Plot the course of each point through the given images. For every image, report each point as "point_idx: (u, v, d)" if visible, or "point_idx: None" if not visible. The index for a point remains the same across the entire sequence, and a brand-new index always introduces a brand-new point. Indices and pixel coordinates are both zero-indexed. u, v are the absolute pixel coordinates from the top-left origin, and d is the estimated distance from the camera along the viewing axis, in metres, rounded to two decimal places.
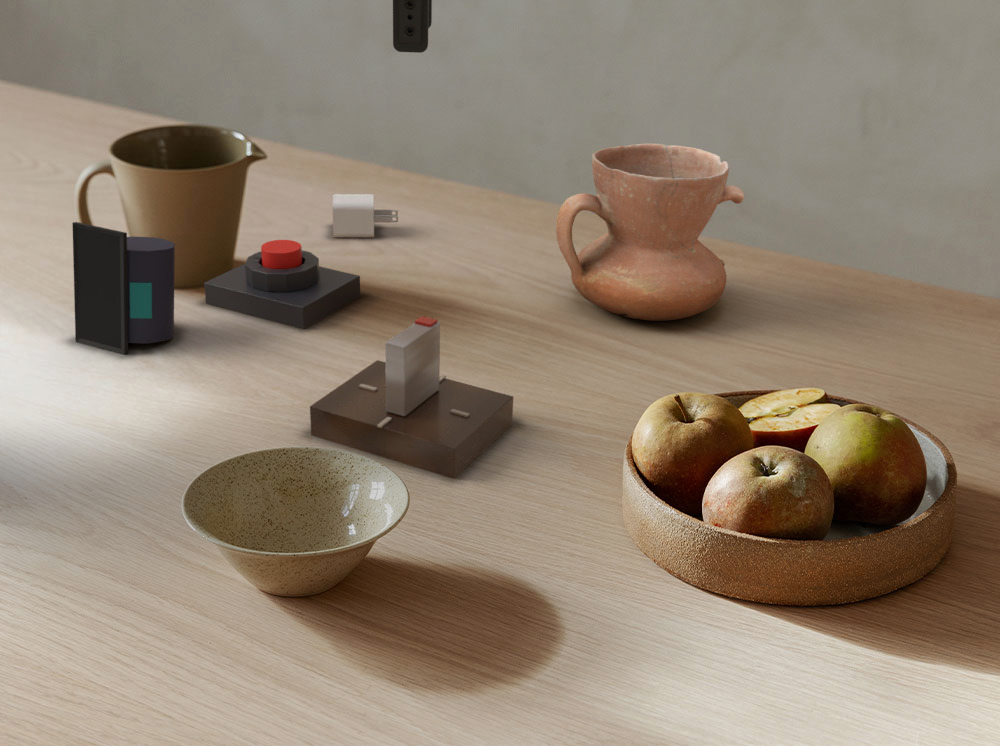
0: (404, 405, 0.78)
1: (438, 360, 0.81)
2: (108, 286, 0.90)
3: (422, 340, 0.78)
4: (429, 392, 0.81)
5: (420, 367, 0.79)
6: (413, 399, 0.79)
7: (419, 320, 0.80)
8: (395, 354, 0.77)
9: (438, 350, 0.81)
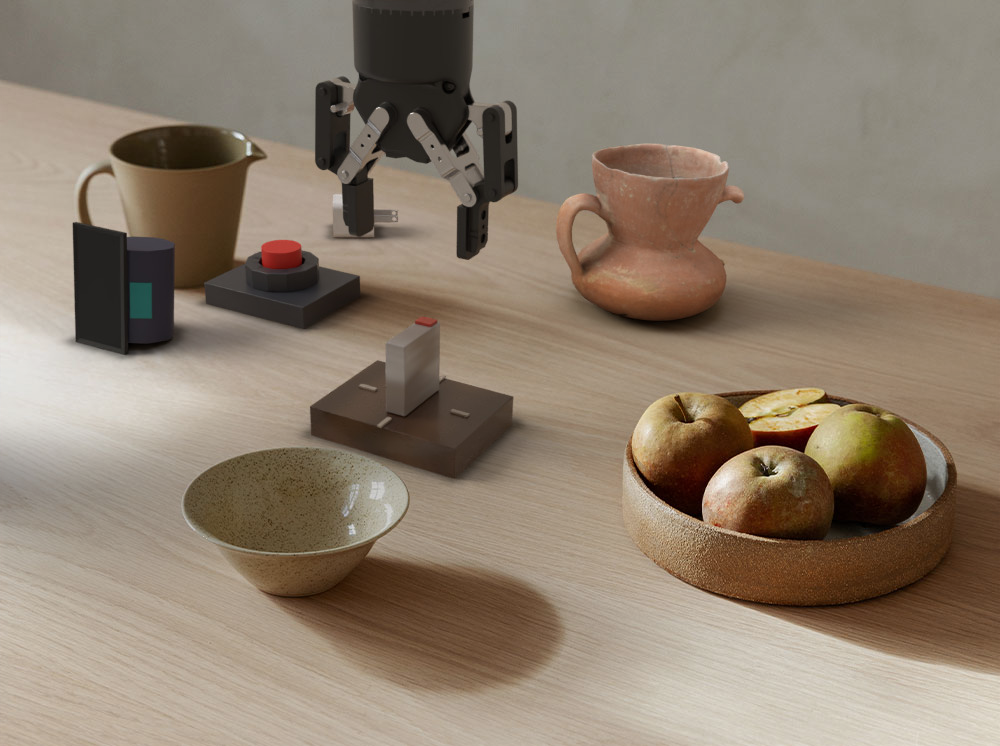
0: (404, 405, 0.78)
1: (438, 360, 0.81)
2: (108, 286, 0.90)
3: (422, 340, 0.78)
4: (429, 392, 0.81)
5: (420, 367, 0.79)
6: (413, 399, 0.79)
7: (419, 320, 0.80)
8: (395, 354, 0.77)
9: (438, 350, 0.81)
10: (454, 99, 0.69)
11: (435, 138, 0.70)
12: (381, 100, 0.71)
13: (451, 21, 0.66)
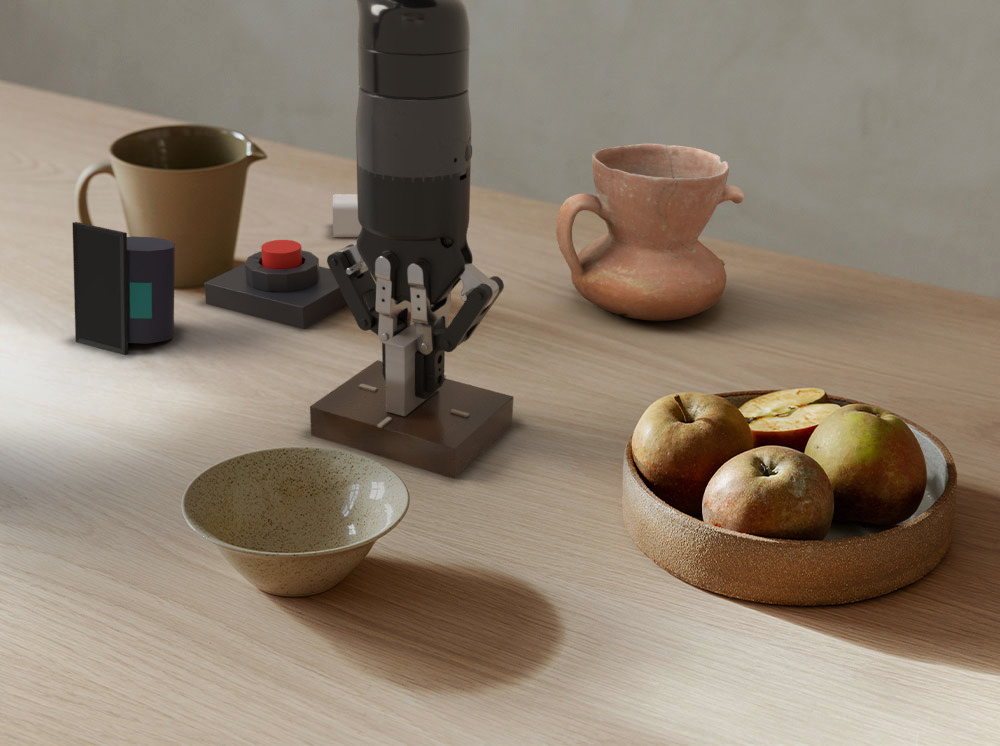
0: (404, 405, 0.78)
1: None
2: (108, 286, 0.90)
3: None
4: None
5: None
6: (413, 399, 0.79)
7: None
8: (395, 354, 0.77)
9: None
10: (452, 252, 0.73)
11: (424, 293, 0.74)
12: (383, 248, 0.75)
13: (449, 184, 0.71)
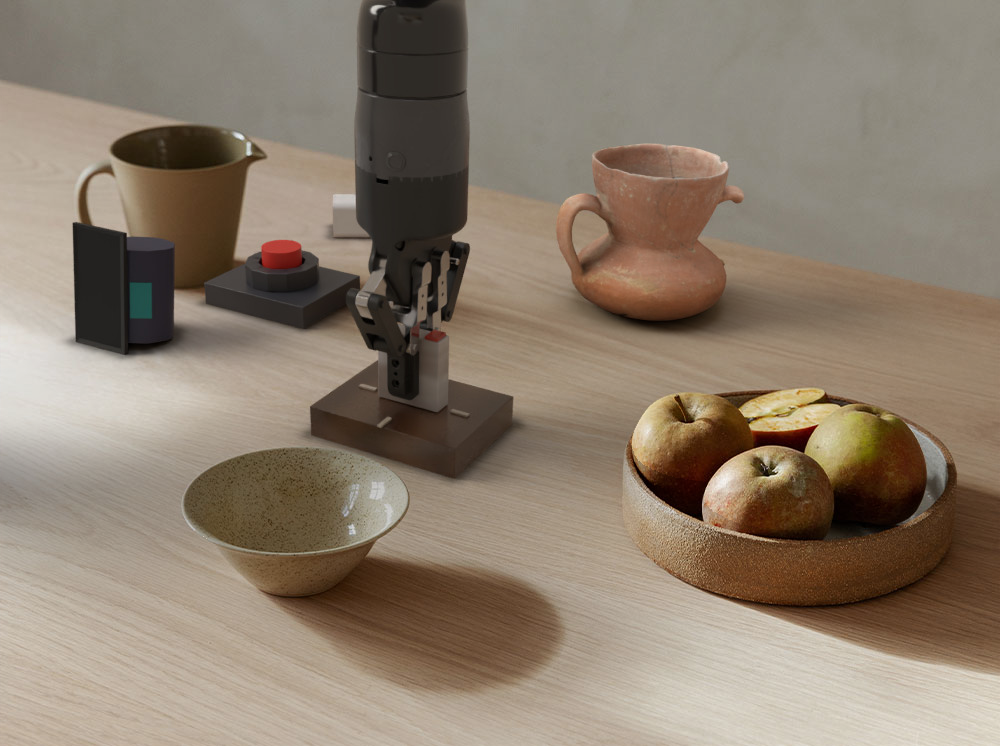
0: None
1: (435, 381, 0.78)
2: (108, 286, 0.90)
3: None
4: (418, 402, 0.80)
5: None
6: None
7: (434, 331, 0.78)
8: None
9: (435, 371, 0.78)
10: (371, 251, 0.73)
11: None
12: None
13: (366, 180, 0.71)
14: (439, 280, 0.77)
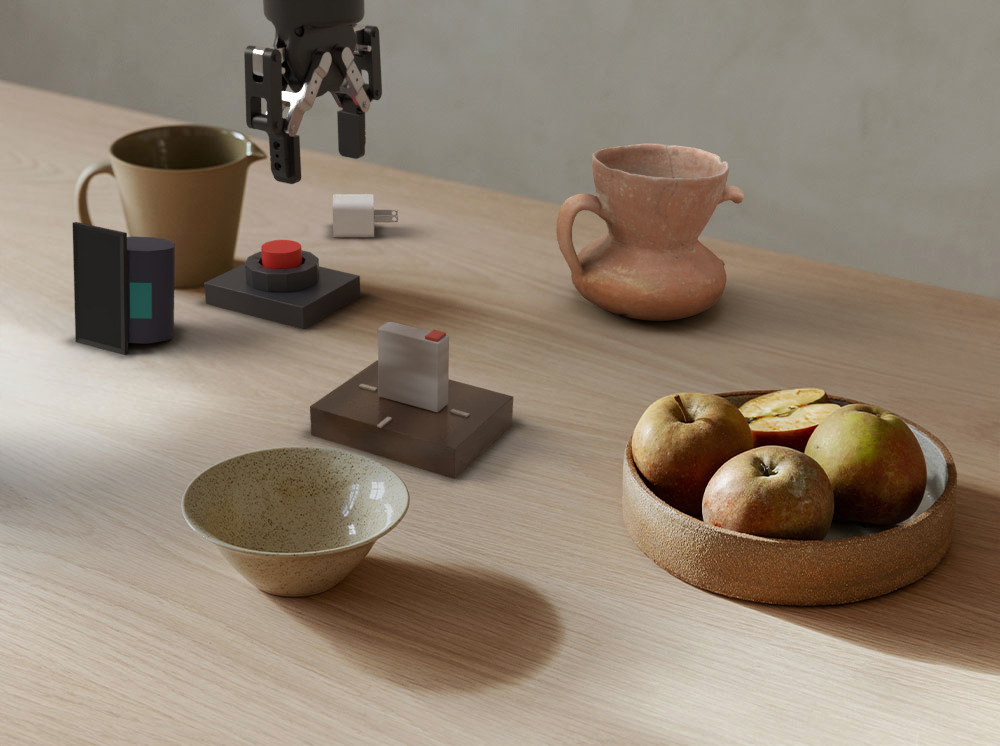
0: None
1: (435, 381, 0.78)
2: (108, 286, 0.90)
3: (406, 341, 0.78)
4: (418, 402, 0.80)
5: (403, 366, 0.79)
6: (391, 389, 0.80)
7: (434, 331, 0.78)
8: None
9: (435, 371, 0.78)
10: None
11: None
12: None
13: None
14: (348, 72, 0.86)
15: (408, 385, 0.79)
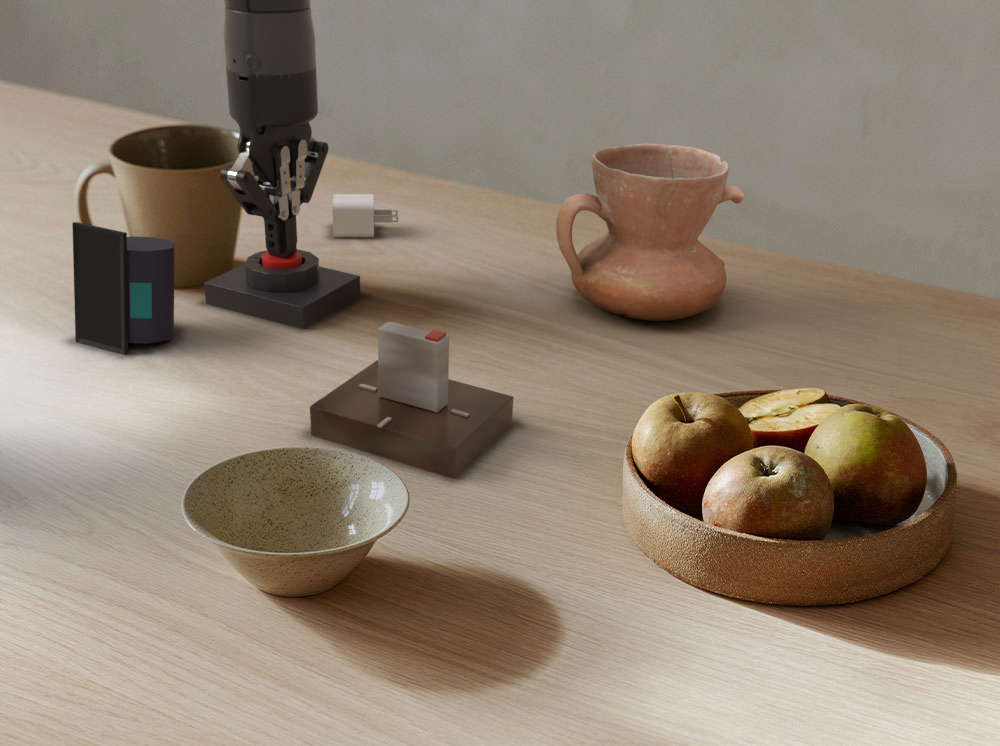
0: None
1: (435, 381, 0.78)
2: (108, 286, 0.90)
3: (406, 341, 0.78)
4: (418, 402, 0.80)
5: (403, 366, 0.79)
6: (391, 389, 0.80)
7: (434, 331, 0.78)
8: None
9: (435, 371, 0.78)
10: (239, 135, 0.93)
11: None
12: None
13: (232, 78, 0.92)
14: (297, 163, 0.97)
15: (408, 385, 0.79)
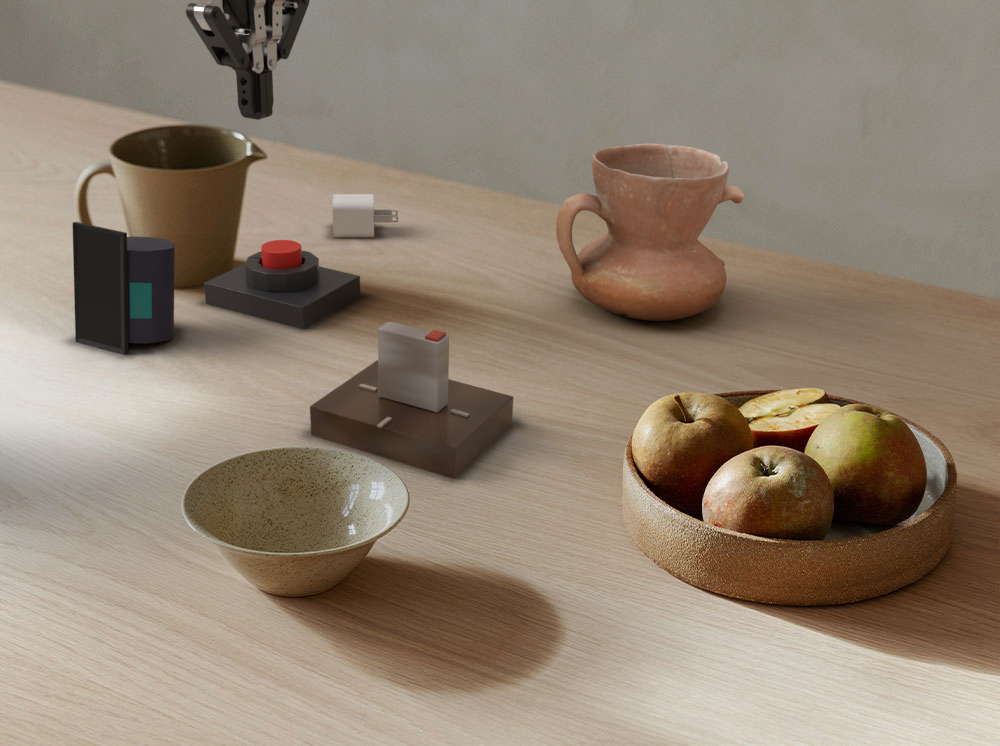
0: None
1: (435, 381, 0.78)
2: (108, 286, 0.90)
3: (406, 341, 0.78)
4: (418, 402, 0.80)
5: (403, 366, 0.79)
6: (391, 389, 0.80)
7: (434, 331, 0.78)
8: None
9: (435, 371, 0.78)
10: None
11: None
12: None
13: None
14: (274, 8, 0.87)
15: (408, 385, 0.79)
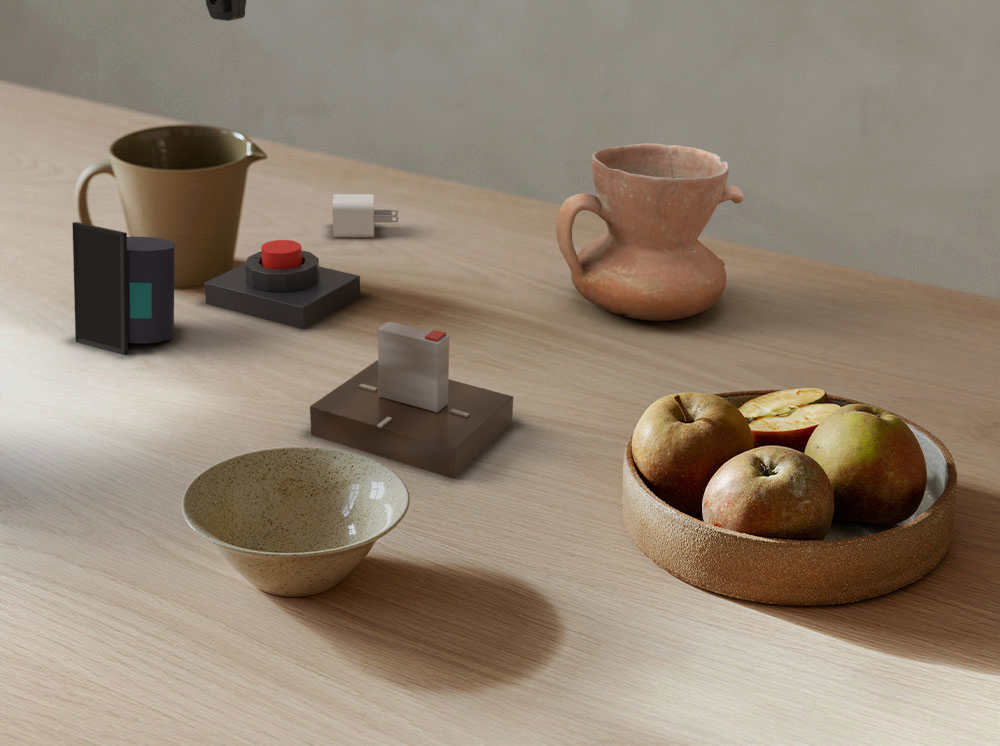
0: None
1: (435, 381, 0.78)
2: (108, 286, 0.90)
3: (406, 341, 0.78)
4: (418, 402, 0.80)
5: (403, 366, 0.79)
6: (391, 389, 0.80)
7: (434, 331, 0.78)
8: None
9: (435, 371, 0.78)
10: None
11: None
12: None
13: None
14: None
15: (408, 385, 0.79)
